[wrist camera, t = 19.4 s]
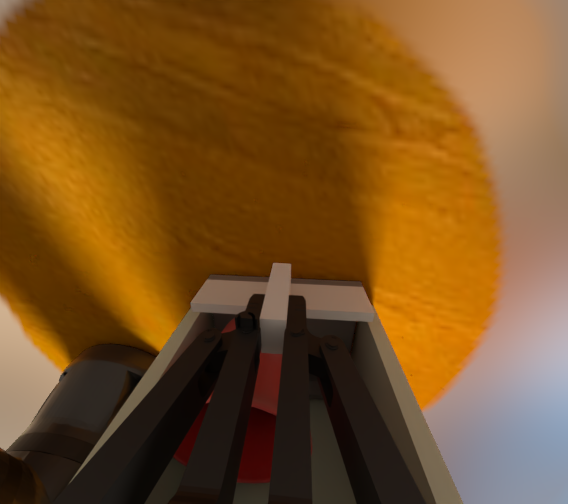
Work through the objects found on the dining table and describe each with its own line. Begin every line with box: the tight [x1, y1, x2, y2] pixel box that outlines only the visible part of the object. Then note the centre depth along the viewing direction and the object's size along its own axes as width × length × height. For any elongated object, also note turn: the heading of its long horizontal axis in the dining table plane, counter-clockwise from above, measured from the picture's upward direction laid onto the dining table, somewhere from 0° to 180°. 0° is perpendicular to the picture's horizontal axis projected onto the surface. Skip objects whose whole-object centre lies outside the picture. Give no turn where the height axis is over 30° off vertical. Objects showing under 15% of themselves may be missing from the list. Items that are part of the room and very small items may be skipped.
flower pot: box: [173, 318, 312, 484], centre depth 19 cm, size 11×11×10 cm
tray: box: [190, 275, 375, 400], centre depth 22 cm, size 15×14×4 cm
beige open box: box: [70, 305, 463, 504], centre depth 16 cm, size 18×14×21 cm
